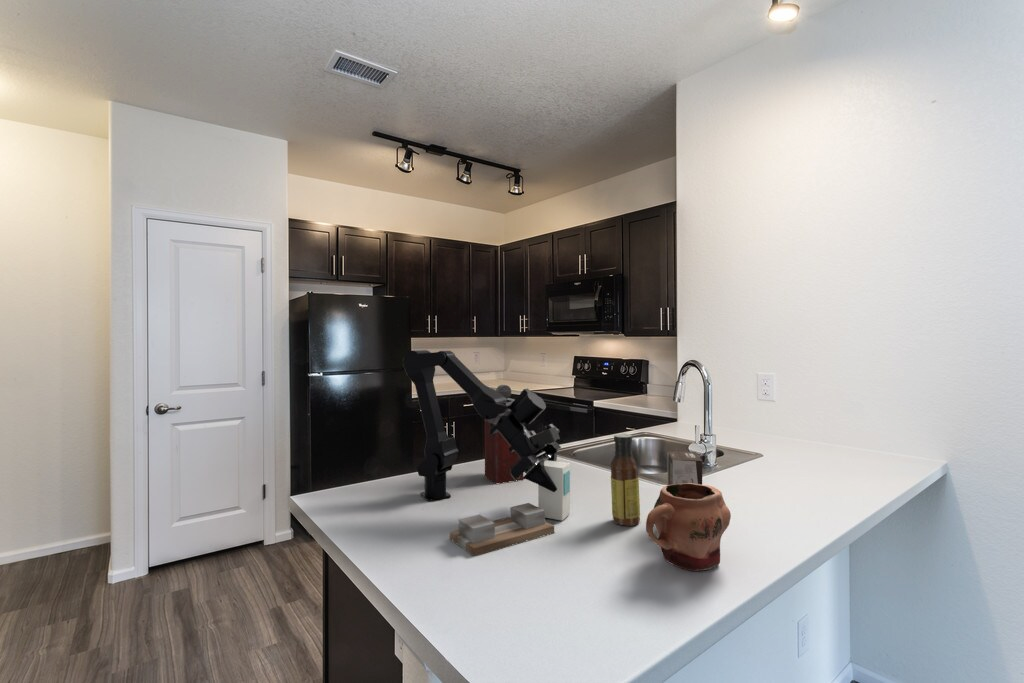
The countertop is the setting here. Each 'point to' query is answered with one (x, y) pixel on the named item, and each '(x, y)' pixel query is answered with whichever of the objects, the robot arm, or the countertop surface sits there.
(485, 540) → the rail board
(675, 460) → the coffee box
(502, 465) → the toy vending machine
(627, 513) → the sauce bottle
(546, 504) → the block
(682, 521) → the terracotta clay mug
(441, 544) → the countertop surface
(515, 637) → the countertop surface
